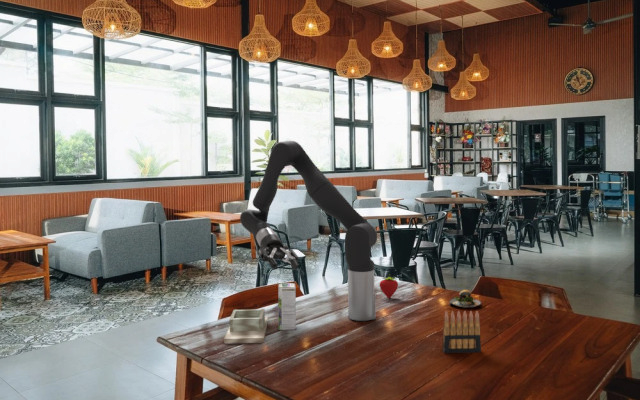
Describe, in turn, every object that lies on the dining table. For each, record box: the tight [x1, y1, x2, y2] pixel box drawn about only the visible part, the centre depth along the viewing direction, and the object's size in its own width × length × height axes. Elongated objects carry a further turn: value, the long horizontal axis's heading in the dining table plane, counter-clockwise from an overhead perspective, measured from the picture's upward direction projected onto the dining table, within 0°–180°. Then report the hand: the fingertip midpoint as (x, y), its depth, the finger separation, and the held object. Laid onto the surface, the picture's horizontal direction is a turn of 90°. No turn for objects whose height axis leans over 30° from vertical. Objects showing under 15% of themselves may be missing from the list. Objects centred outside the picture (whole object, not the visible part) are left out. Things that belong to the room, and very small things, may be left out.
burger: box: [448, 289, 482, 308], centre depth 199 cm, size 12×12×8 cm
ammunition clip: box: [442, 310, 482, 354], centre depth 151 cm, size 11×2×12 cm, turn 90°
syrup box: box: [277, 282, 297, 331], centre depth 175 cm, size 6×6×14 cm
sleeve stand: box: [223, 308, 269, 344], centre depth 172 cm, size 12×22×6 cm, turn 2°
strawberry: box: [379, 273, 399, 299], centre depth 210 cm, size 6×8×10 cm
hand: (286, 267), depth 184 cm, fingers open, 8 cm apart
